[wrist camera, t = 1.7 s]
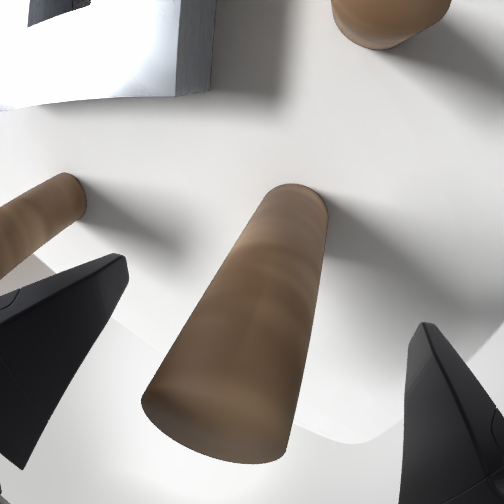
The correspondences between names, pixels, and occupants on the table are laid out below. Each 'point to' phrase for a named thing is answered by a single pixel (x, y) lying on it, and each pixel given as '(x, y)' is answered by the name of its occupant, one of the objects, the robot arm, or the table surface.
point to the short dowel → (385, 20)
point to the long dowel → (247, 338)
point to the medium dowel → (38, 218)
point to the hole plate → (103, 50)
